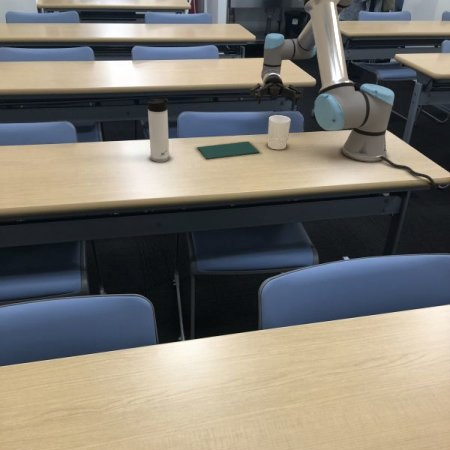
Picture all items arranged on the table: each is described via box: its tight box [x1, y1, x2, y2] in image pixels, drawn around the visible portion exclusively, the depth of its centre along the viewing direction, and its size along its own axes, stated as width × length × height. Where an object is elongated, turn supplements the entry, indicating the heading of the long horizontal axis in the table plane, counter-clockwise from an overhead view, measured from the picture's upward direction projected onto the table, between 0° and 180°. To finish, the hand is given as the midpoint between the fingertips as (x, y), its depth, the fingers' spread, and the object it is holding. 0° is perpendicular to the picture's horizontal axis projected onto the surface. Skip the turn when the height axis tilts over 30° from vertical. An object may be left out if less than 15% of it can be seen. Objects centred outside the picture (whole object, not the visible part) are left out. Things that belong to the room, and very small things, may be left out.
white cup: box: [267, 114, 292, 150], centre depth 176 cm, size 8×8×10 cm
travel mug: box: [147, 97, 170, 163], centre depth 161 cm, size 6×7×20 cm
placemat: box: [197, 141, 260, 160], centre depth 174 cm, size 10×20×1 cm, turn 111°
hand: (278, 100), depth 178 cm, fingers open, 13 cm apart
